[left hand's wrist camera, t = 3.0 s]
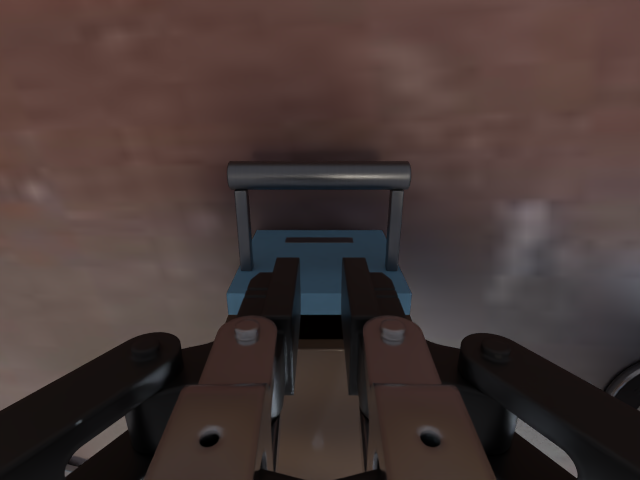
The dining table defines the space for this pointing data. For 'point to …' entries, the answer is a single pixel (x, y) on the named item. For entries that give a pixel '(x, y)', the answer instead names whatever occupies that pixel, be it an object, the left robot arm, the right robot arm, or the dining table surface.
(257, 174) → the drawer
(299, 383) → the cabinet
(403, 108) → the dining table surface
